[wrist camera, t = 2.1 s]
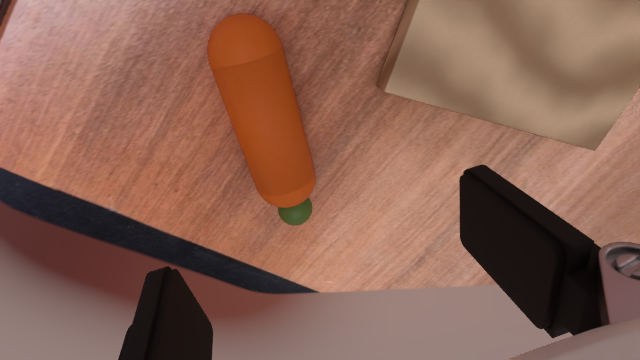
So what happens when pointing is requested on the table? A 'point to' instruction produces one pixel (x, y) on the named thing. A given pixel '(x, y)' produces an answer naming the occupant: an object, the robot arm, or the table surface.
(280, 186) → the carrot
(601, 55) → the chopping board
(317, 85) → the table surface
